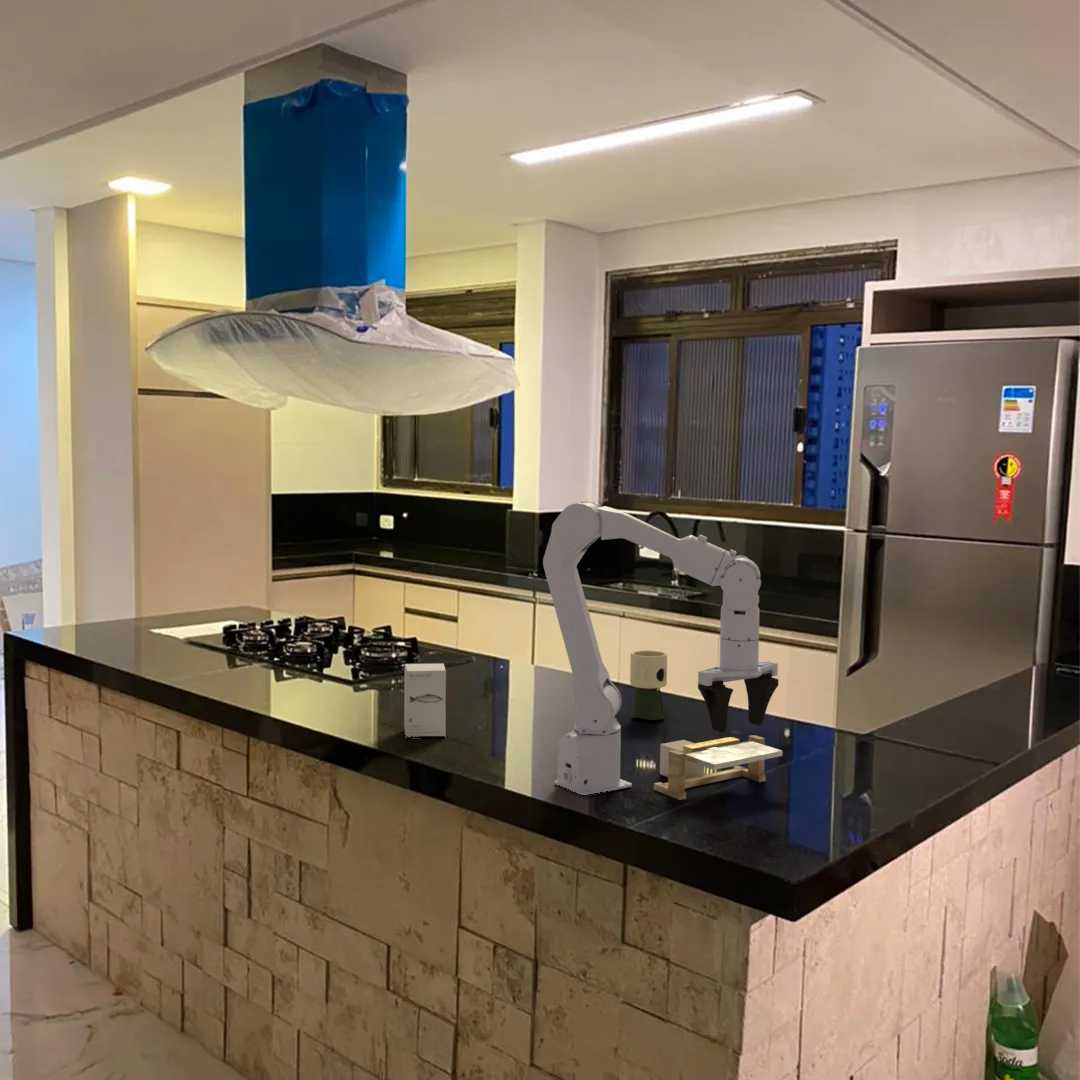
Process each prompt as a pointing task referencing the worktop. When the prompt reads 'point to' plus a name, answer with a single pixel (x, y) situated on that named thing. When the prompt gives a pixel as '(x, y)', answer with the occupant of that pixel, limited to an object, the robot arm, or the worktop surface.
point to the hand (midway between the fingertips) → (737, 727)
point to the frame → (679, 782)
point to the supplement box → (425, 700)
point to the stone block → (690, 767)
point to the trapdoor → (728, 752)
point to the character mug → (648, 683)
